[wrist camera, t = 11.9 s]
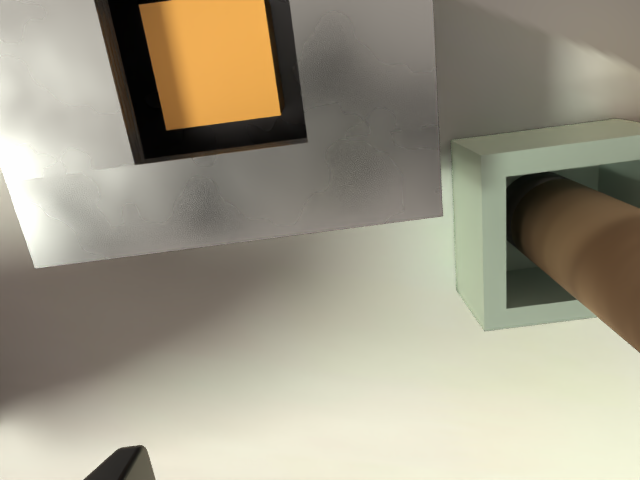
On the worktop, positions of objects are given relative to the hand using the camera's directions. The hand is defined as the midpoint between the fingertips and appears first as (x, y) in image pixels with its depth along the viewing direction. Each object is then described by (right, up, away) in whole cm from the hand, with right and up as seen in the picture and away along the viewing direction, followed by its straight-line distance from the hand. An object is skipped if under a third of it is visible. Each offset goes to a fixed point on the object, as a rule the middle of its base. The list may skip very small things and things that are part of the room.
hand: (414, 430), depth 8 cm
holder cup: (+7, +4, +12) cm, 15 cm away
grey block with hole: (-5, +10, +10) cm, 15 cm away
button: (-5, +9, +9) cm, 14 cm away
